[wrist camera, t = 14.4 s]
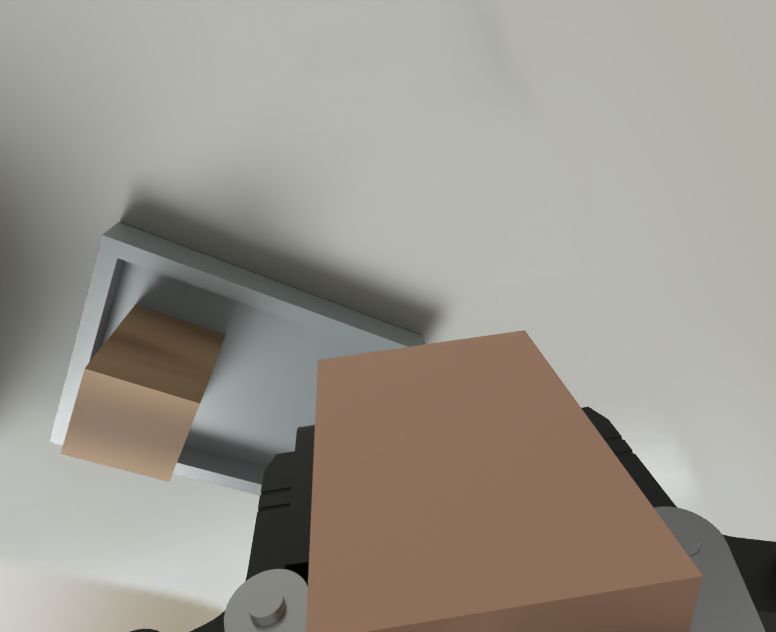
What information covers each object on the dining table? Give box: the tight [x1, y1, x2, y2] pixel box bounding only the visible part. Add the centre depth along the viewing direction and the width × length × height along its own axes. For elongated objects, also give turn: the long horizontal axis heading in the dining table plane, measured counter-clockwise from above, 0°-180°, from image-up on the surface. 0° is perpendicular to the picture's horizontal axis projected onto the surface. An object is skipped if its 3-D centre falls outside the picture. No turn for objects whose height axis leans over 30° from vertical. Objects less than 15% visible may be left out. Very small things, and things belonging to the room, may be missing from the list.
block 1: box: [61, 304, 225, 481], centre depth 24 cm, size 4×4×6 cm
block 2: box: [306, 330, 703, 632], centre depth 9 cm, size 4×4×6 cm
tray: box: [50, 222, 425, 496], centre depth 28 cm, size 16×12×2 cm
